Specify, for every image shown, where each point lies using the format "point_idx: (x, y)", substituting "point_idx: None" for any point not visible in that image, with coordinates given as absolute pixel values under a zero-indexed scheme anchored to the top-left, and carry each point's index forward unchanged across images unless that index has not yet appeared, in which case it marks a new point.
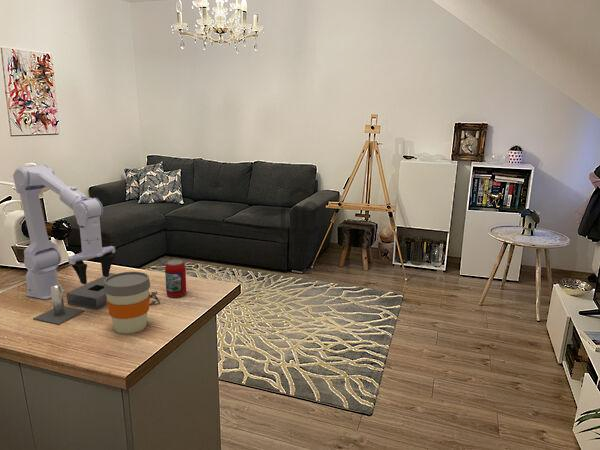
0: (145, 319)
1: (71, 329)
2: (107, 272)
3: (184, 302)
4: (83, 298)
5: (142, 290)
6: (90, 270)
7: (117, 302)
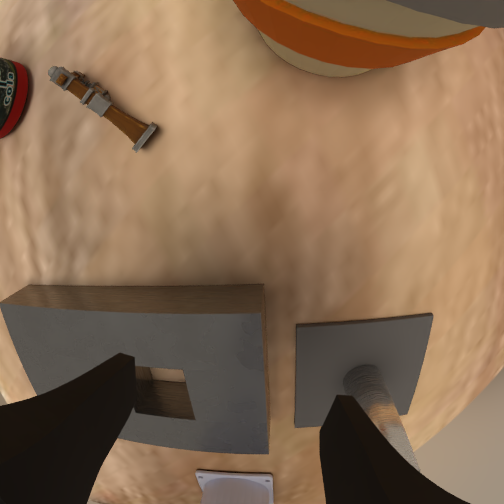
0: None
1: (449, 237)
2: (111, 374)
3: (53, 18)
4: (265, 380)
5: None
6: None
7: None
